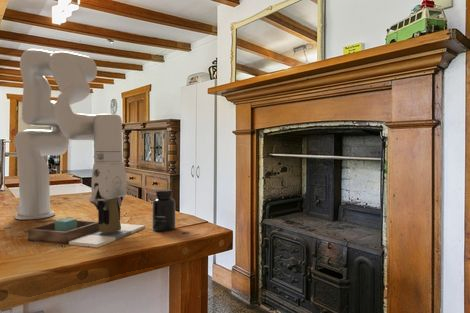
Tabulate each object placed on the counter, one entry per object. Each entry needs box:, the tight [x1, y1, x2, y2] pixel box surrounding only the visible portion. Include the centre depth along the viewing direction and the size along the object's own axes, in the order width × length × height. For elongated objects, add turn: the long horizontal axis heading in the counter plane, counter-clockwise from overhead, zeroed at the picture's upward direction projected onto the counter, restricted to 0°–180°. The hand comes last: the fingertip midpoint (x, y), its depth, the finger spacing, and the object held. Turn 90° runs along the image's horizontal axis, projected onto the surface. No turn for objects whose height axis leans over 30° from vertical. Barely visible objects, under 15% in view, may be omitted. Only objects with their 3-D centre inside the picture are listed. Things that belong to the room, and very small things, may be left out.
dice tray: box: [27, 219, 99, 245], centre depth 97 cm, size 13×13×3 cm
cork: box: [99, 197, 122, 232], centre depth 97 cm, size 6×6×11 cm
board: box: [68, 223, 146, 249], centre depth 97 cm, size 9×21×1 cm, turn 161°
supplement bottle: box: [152, 188, 176, 233], centre depth 104 cm, size 7×7×12 cm
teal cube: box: [54, 217, 78, 232], centre depth 97 cm, size 4×4×4 cm
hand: (109, 221), depth 97 cm, fingers closed on cork, 4 cm apart
